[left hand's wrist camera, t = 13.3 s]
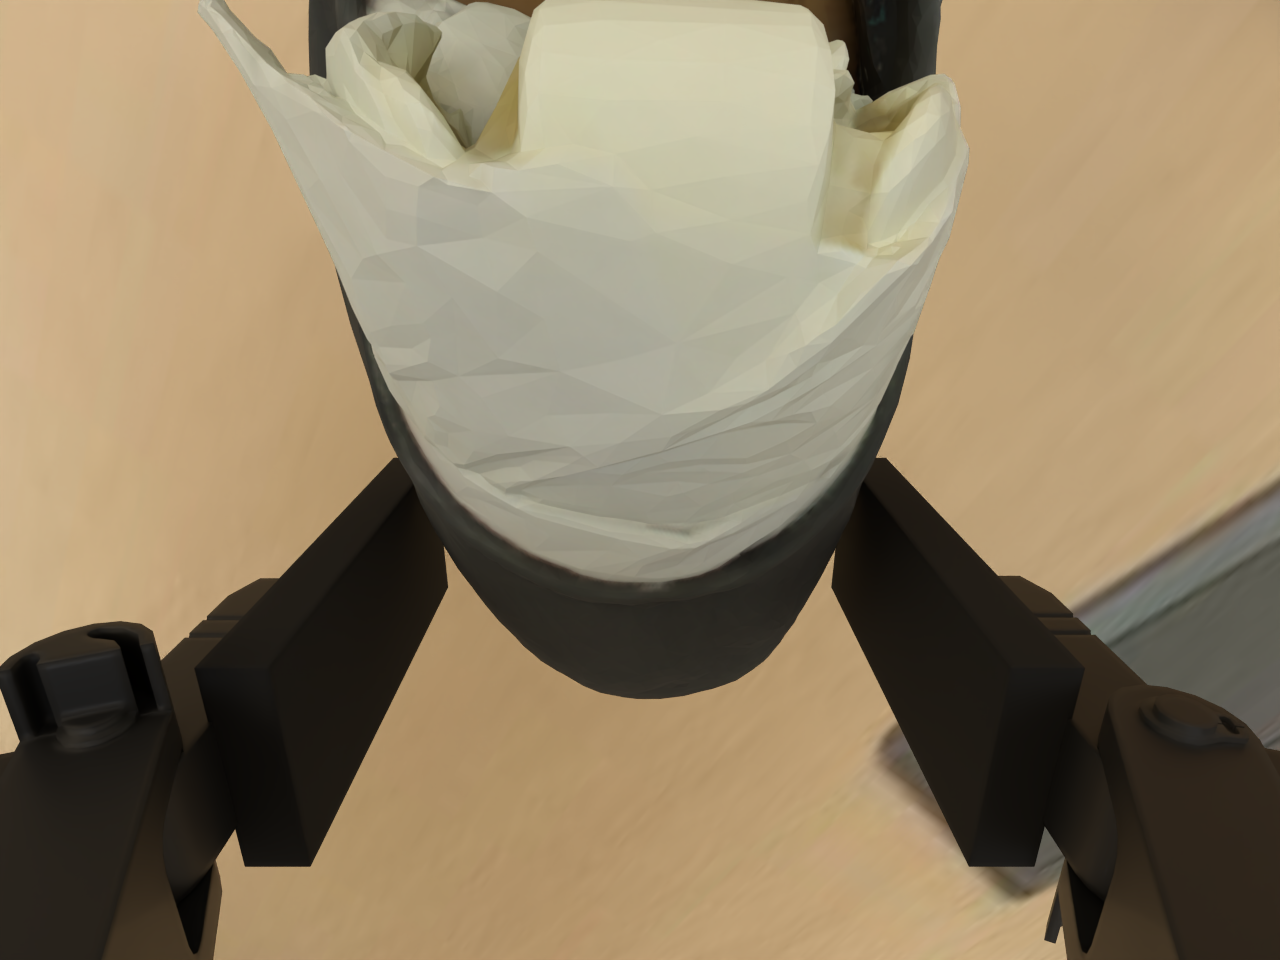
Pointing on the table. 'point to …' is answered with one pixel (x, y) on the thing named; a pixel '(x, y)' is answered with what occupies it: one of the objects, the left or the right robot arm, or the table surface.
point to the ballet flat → (628, 291)
